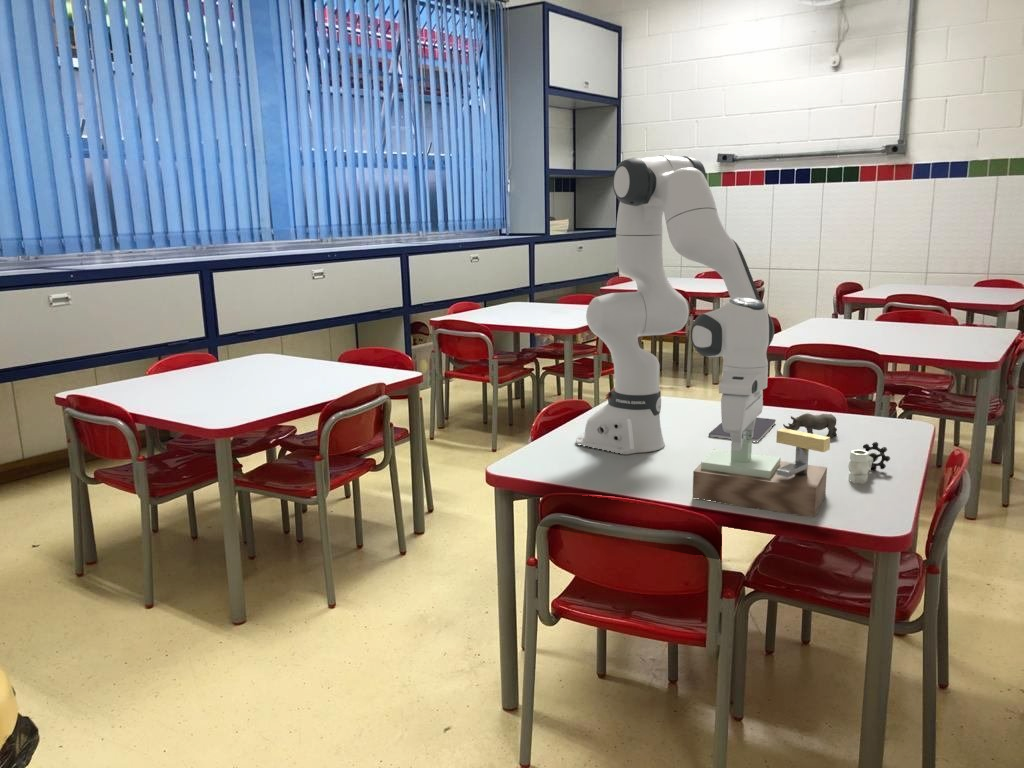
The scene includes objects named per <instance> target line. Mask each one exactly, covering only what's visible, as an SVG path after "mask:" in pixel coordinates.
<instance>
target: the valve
mask: <svg viewBox="0 0 1024 768" xmlns="http://www.w3.org/2000/svg"><path fill="white" fill-rule="evenodd" d="M864 449H865V450H864ZM872 450H874V451H878V453H877V452H870V451H872ZM887 451H888V448H887V447H885V446H882V447H881V448H880V447H879V442H877V441H874V442H873V443H872V444H871V446H870V445H869V444H868V443H865V444H863V445H862V449H854V450H851V451H850V453H849V454H850V456H849V459H850V460H849V463H848V466H847V467H848V471H849V473H848V481H849V480H851V481H852V483H853V482H855V483H854V484H866V482H868V477H869V474H868V473H869V471H870V470H871V471H873V472H874V471H876V470H877V468H878V467H879V469H880V470H884V469H886V467H887V465H886V464H885V462H886V463H888V462H889V461H890V460H891V457H890V456H889V455H886V454H885V453H886V452H887ZM880 457H881V460H880V461H879V462H877V463H875V462H876V461H878V460H879V458H880ZM851 481H850V482H851Z"/></svg>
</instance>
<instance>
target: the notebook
mask: <svg viewBox="0 0 1024 768" xmlns="http://www.w3.org/2000/svg"><path fill="white" fill-rule="evenodd" d="M776 421H777V420H776V419H775V418H774V419H773V418H765V417H758V416H757V417H756V421H755V426H754V430H753V437H752V438H751V439H747V440H752V441H755V442H754V443H758V442H757V441H759V440H760V439H761V438H762V437H763V436H764V437H765V436H766V435H767V433H768V432H769V431H770V430H772V428H773V427H774V426H775V425H776ZM774 424H775V425H774ZM773 425H774V426H773ZM772 426H773V427H772ZM743 431H744V430H743ZM743 431H742V439H744V438H743ZM714 437H720V438H719V439H722V438H729V439H728V440H730V439H731V436H730V433H729V432H724V430H723V427H722V422H721V423H720V424H718V425H717V426H716V427H714V428H713V429H712V430H711V431H710V432H709V433H708V438H714ZM764 437H763V438H764ZM763 438H762V439H763ZM762 439H761V440H762ZM761 440H760V441H761ZM760 441H759V442H760Z"/></svg>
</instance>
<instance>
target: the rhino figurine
mask: <svg viewBox="0 0 1024 768" xmlns="http://www.w3.org/2000/svg"><path fill="white" fill-rule="evenodd" d="M790 419H791V420H792V422H791V423H789V422H788V423H787V425H786V424H785V423H783V424H782V425H783V428H785V429H790V430H795V431H798V430H799V429H800V428H805V429H806V431H807V432H806V433H811V434H814V432H813V430H815V431H822V430H823V431H824V429H827V431H828V432H827V434H826V435H825V436H826V437H830V439H832V438H833V437H834V436H833V435H836V436H837V435H838V433H837V431H838V429H837V427H836V426H837V418H836V416H835V415H833V414H830V413H829V414H827V413H822V414H816V415H814V414H812V413H803V414H801V415H799V416H797V417H794V416H792V415H791V416H790Z"/></svg>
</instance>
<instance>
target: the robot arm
mask: <svg viewBox="0 0 1024 768" xmlns="http://www.w3.org/2000/svg"><path fill="white" fill-rule="evenodd" d="M612 177H613V178H612V188H613V193H614V195H615V196H616V198H617V199H618V201H619V204H618V210H617V217H616V225H615V226H616V227H615V228H616V229H615V234H616V235H615V265H616V267H617V269H618V270H619V271H620V272H621V273H622V274H623V275H626V277H628V278H631V279H633V280H634V281H635V283H636V288H637V290H636V291H627V292H626V291H625V292H611V293H606V294H603V295H599V296H596V297H593V298H592V299H591V301H590V302H589V304H588V306H587V307H586V308H587V309H586V315H585V317H586V318H585V319H586V323H587V327H589V329H590V331H591V332H592V333H593V334H594V335H595V336H596V337H597V338H599V339H600V340H601V341H602V342H603V343H604V344H605V346H606V347H607V348H608V350H609V352H610V355H611V357H612V361H613V362H612V363H613V372H614V373H613V374H614V387H613V388H612V389H611V390H610V391H608V392H607V393H606V394H605V397H604V398H605V400H607V404H605V405H604V406H602V407H601V408H600V409H598V410H597V411H596V412H594V413H593V414H592V415H591V416H590V417H589V418H587V420H586V424H585V428H584V432H582V433H580V434H579V435H578V436H577V437H576V439H575V444H576V443H577V444H581V445H585V446H589V447H594V448H598V449H597V450H599V449H602V450H601V451H604V450H607V451H606V452H609V451H611V452H610V453H614V452H615V453H614V454H618V453H620V455H631V454H636V453H637V454H638V453H648V452H649V453H650V452H655V451H658V450H662V449H663V448H664V447H665V445H666V443H665V441H664V437H663V432H662V428H661V427H662V426H661V416H660V415H661V409H662V395H661V394H662V393H661V390H660V362H659V360H658V358H657V357H656V355H655V354H653V353H652V352H650V351H648V350H645V349H643V348H641V347H640V344H639V338H640V337H646V336H663V335H668V334H672V333H675V332H678V331H681V330H682V329H683V328H684V327H685V326H686V324H687V322H688V319H689V315H690V314H689V313H690V312H689V305H688V302H687V300H686V298H685V297H684V296H683V295H682V294H681V293H680V292H679V291H677V290H676V288H674V287H673V285H672V284H671V283H670V281H669V279H668V277H667V274H666V272H665V267H664V262H663V260H664V259H663V215H664V219H665V225H666V229H667V234H668V238H669V240H670V241H669V242H670V243H671V246H672V248H673V249H674V250H675V252H677V253H678V254H679V255H680V256H682V257H683V258H685V259H687V260H689V261H692V262H695V263H699V264H701V265H703V266H706V267H708V268H710V269H712V270H713V271H715V272H716V273H717V274H719V276H720V277H721V278H722V280H723V282H724V284H725V287H726V290H727V292H728V295H729V298H730V299H729V300H728V301H726V302H725V304H724V305H723V306H721V307H719V308H716V309H714V310H711V311H708V312H705V313H701V314H698V315H697V317H696V318H695V319H694V321H693V323H692V325H691V329H690V340H691V341H690V342H691V344H692V346H693V348H694V350H695V351H696V352H697V353H698V354H699V355H700V356H702V357H708V358H716V357H717V358H719V357H720V358H721V357H722V359H723V360H722V372H721V379H720V381H719V384H718V394H721V399H720V409H721V410H720V412H721V413H720V414H721V423H722V427H723V430H724V432H729V433H730V436H731V440H730V441H731V442H732V450H735V451H740V450H741V449H742V447H743V446H742V445H743V441H742V431H743V430H744V431H743V438H744V439H751V438H752V437H753V430H754V426H755V421H756V417H757V418H758V417H759V416H760V415H761V414H762V412H763V408H764V400H763V398H764V394H763V393H764V391H763V390H765V389H767V388H768V375H769V370H768V369H769V362H768V358H767V351H768V349H769V347H770V346H771V344H772V342H773V339H774V336H775V325H774V321H773V319H772V317H771V315H770V314H769V312H768V309H767V305H766V304H765V303H764V302H762V300H761V297H760V294H759V291H758V290H757V287H756V283H755V281H754V279H753V276H752V274H751V270H750V269H749V266H748V263H747V261H746V258H745V256H744V254H743V251H742V249H741V247H740V245H739V244H738V243H737V242H736V241H735V240H734V239H733V238H731V237H730V235H729V233H728V231H726V229H725V228H724V226H723V224H722V222H721V219H720V216H719V213H718V209H717V205H716V202H715V198H714V196H713V195H714V194H713V193H712V190H711V188H710V185H709V183H708V181H707V173H706V168H705V167H704V164H703V163H702V161H700V160H698V159H697V158H694V157H690V156H685V155H684V156H676V155H675V156H674V155H658V156H646V157H637V156H636V157H630V158H626V159H624V160H622V161H620V162H618V165H617V167H616V168H615V170H614V172H613V176H612ZM577 444H576V445H577ZM585 446H584V447H585ZM589 447H588V448H589ZM594 448H593V449H594Z"/></svg>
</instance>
